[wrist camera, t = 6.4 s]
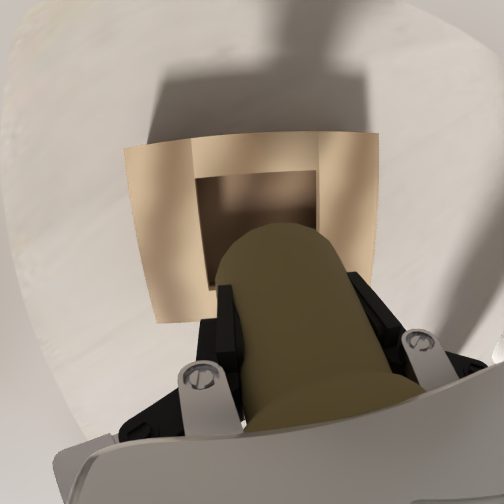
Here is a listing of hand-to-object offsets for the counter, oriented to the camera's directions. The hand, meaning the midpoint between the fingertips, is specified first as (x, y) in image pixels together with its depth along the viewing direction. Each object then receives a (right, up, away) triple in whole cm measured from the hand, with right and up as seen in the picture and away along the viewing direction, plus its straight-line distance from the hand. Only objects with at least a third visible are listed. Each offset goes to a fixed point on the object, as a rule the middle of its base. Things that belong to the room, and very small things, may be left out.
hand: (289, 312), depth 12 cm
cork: (0, +1, +2) cm, 2 cm away
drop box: (-1, +6, +15) cm, 16 cm away
